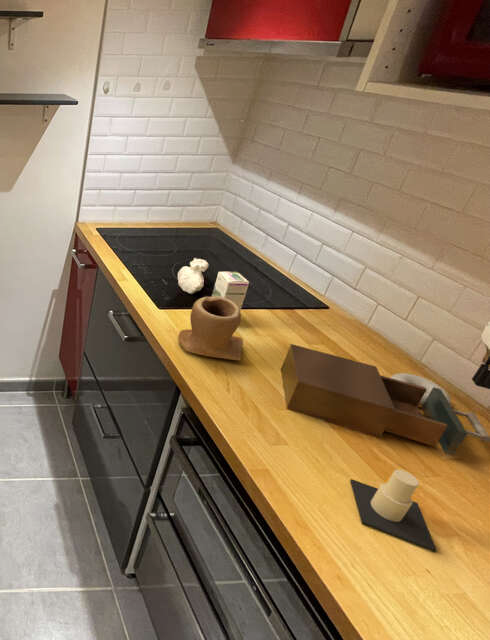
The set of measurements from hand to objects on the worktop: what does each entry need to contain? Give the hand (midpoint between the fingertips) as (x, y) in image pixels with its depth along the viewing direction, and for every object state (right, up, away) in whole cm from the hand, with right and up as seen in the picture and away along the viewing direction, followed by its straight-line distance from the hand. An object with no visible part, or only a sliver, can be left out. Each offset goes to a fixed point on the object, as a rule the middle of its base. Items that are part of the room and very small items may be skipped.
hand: (484, 385), depth 84 cm
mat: (-27, -19, -9) cm, 34 cm away
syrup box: (-25, +4, +42) cm, 49 cm away
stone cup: (-35, -1, +30) cm, 46 cm away
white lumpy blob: (-25, +12, +59) cm, 65 cm away
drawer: (-6, -10, +8) cm, 14 cm away
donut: (+4, -8, +16) cm, 18 cm away
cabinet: (-18, -8, +15) cm, 24 cm away
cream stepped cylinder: (-27, -18, -9) cm, 34 cm away
